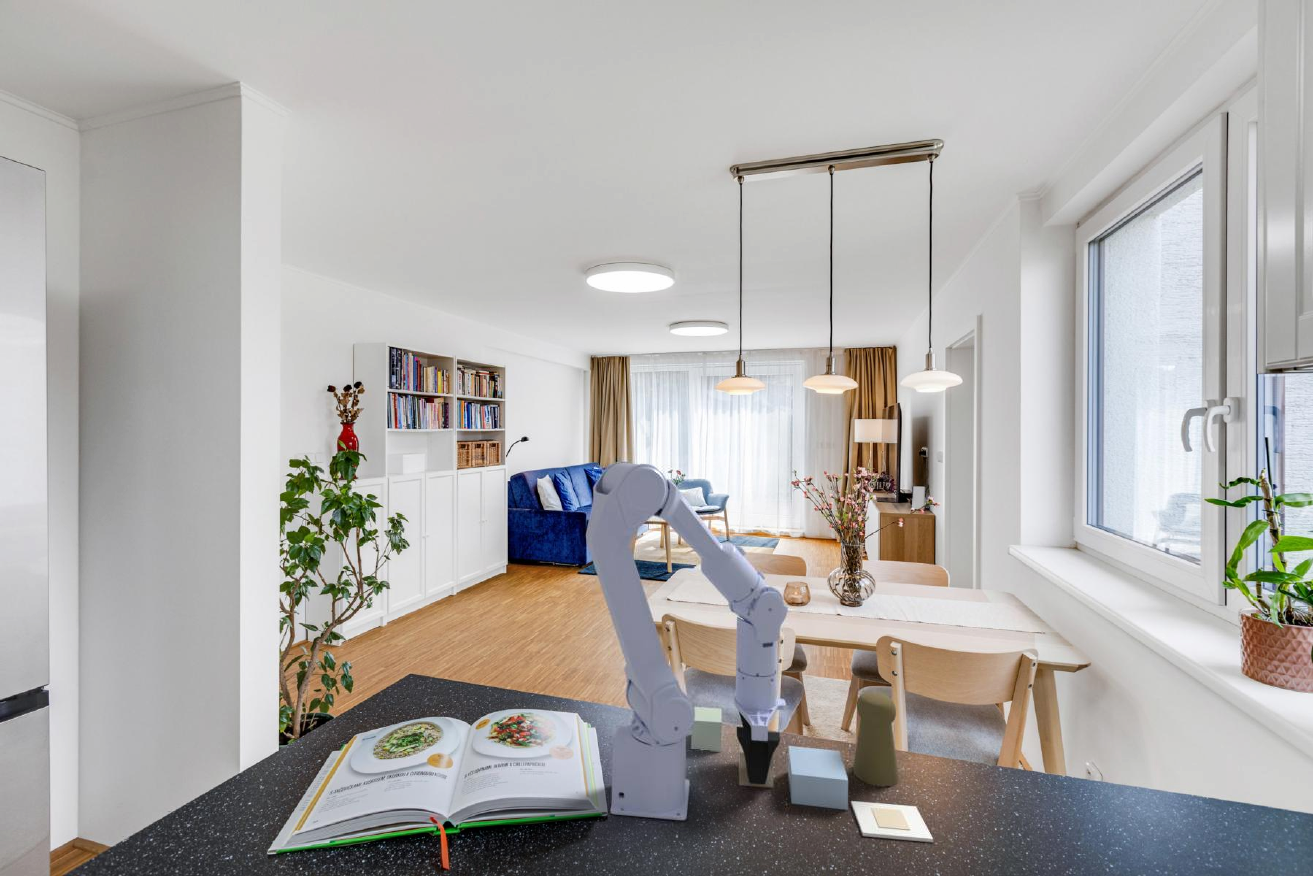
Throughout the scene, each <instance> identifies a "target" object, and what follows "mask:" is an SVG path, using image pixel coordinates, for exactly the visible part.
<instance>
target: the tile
mask: <svg viewBox="0 0 1313 876" xmlns="http://www.w3.org/2000/svg"><path fill="white" fill-rule="evenodd" d="M850 804H851V807H852V809H853V814H854V816H855V818H856V821H857V824H858V827H859V829H860V833H861V835H862V836H863V837H871V838H881V839H882V838H883V839H892V840H902V841H903V840H904V841H914V842H915V841H916V842H924V843H925V842H926V843H934V837H933V836H932V834H931V832H930V830H929V829H928V826H927V825H926V824H927V823H925V821H924V819H923V816H922V815H921V814H920V811H919V809H918V807H917V806H915V805H914V806H912V805H903V804H901V805H900V804H889V803H880V802H879V803H877V802H867V801H856V800H854V801H853V800H851V802H850Z"/></svg>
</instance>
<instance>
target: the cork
mask: <svg viewBox="0 0 1313 876" xmlns="http://www.w3.org/2000/svg"><path fill="white" fill-rule="evenodd" d="M896 707H897V706H896V704H895V702H894V701H893V699H892V698H890V697H889V696H888V695H885V694H883V693H880V692H875V691H874V692H873V691H868V692H864V693H862V694H860V695H859V696H858V699H857V701H856V709H857V713H858V715H859V717H860V721H859V729H858V734H857V742H856V747H855V748H856V749H855V754H854V755H855V756H854V760H853V768H852V769H853V770H852V772H853V774H854V776H856V777H857V778H858V779H859V780H860V781H863V782H864V783H865V782H866V784H868V785H871V784H872V785H871V786H874V785H877V786H876V787H879V786H882V787H881V788H885V786H889V787H892V786H895V785H897V784H898V782H899V781H900V780H899V771H898V764H897V756H896V747H895V740H894V732H893V725H892V723H893V722H894V721H895V719H896V716H897V708H896ZM894 784H895V785H894ZM883 786H884V787H883Z"/></svg>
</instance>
